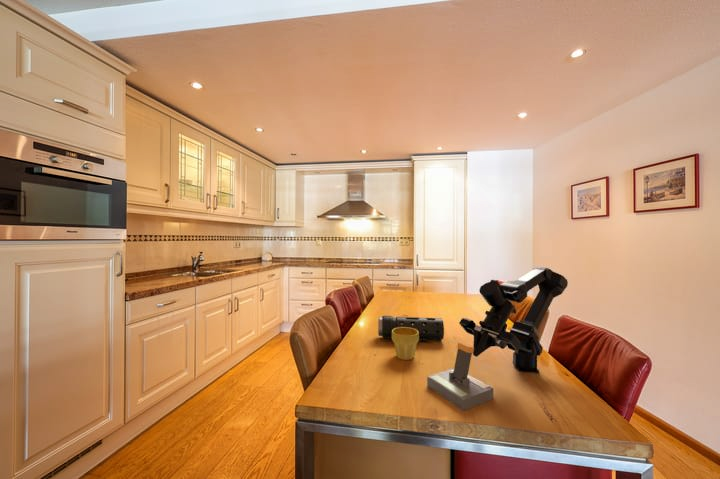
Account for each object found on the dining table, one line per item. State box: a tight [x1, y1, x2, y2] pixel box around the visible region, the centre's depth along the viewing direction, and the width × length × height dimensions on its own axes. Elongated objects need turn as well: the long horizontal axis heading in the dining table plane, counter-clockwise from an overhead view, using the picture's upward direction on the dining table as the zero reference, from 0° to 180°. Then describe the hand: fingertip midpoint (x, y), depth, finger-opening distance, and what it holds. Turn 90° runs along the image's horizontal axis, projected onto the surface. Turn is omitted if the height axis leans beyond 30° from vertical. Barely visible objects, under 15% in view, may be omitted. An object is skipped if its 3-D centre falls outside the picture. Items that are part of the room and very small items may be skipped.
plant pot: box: [391, 327, 420, 361], centre depth 108 cm, size 10×10×10 cm
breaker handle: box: [453, 342, 474, 383], centre depth 84 cm, size 2×4×11 cm, turn 29°
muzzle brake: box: [377, 315, 445, 342], centre depth 126 cm, size 10×28×10 cm, turn 84°
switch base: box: [426, 367, 494, 412], centre depth 84 cm, size 12×14×5 cm
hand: (474, 355), depth 87 cm, fingers closed
